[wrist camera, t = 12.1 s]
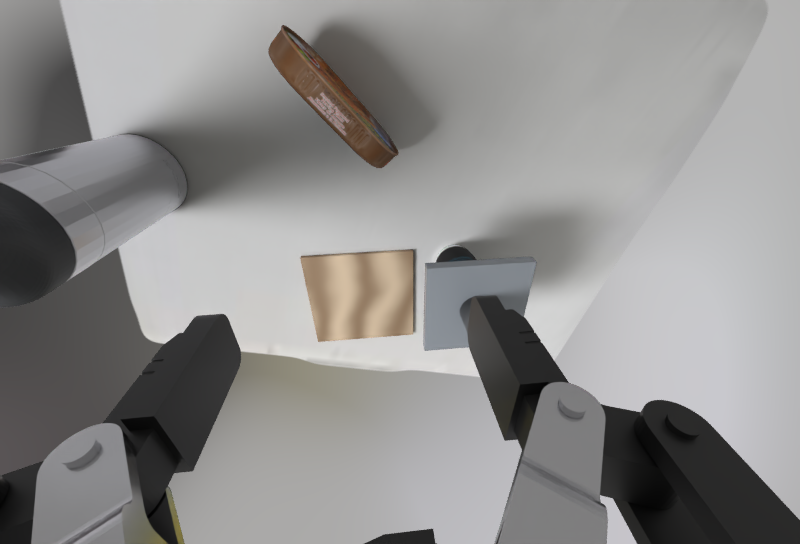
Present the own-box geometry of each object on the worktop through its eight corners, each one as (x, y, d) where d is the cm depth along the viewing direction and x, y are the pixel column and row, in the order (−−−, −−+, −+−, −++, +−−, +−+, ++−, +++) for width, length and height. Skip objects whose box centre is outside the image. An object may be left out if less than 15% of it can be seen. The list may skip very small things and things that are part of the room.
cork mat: (318, 339, 53) (318, 341, 52) (301, 256, 44) (300, 258, 44) (412, 332, 54) (413, 334, 53) (412, 249, 45) (413, 251, 45)
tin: (397, 144, 38) (404, 159, 31) (379, 163, 39) (381, 181, 32) (296, 28, 31) (275, 12, 24) (276, 54, 32) (251, 46, 25)
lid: (423, 343, 40) (433, 390, 34) (425, 263, 34) (437, 303, 28) (513, 336, 41) (539, 381, 35) (531, 256, 35) (566, 293, 29)
